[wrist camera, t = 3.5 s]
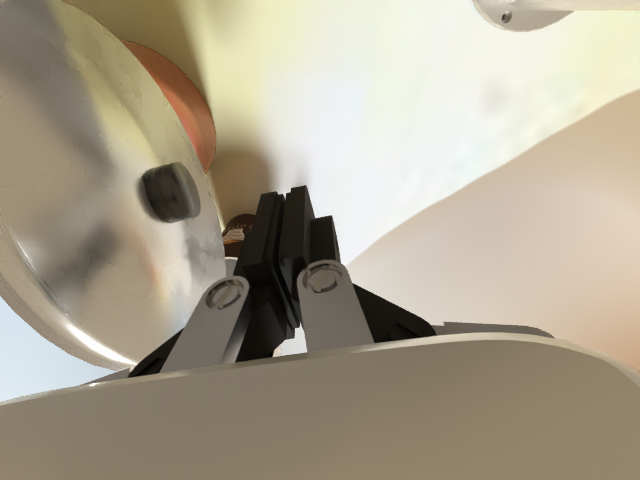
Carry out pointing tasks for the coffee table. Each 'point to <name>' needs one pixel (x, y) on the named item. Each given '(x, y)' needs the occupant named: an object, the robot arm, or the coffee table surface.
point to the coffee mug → (235, 239)
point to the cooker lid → (96, 191)
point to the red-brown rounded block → (181, 100)
